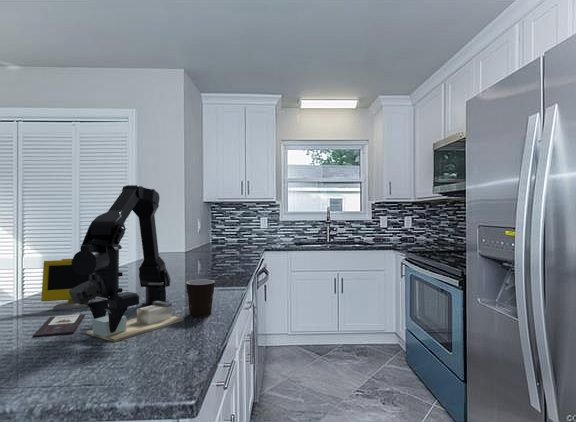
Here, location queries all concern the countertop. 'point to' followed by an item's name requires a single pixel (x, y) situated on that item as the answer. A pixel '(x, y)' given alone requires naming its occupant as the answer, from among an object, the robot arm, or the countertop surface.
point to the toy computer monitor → (61, 283)
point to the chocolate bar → (59, 326)
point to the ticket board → (136, 328)
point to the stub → (107, 326)
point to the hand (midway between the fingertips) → (106, 330)
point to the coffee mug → (200, 297)
